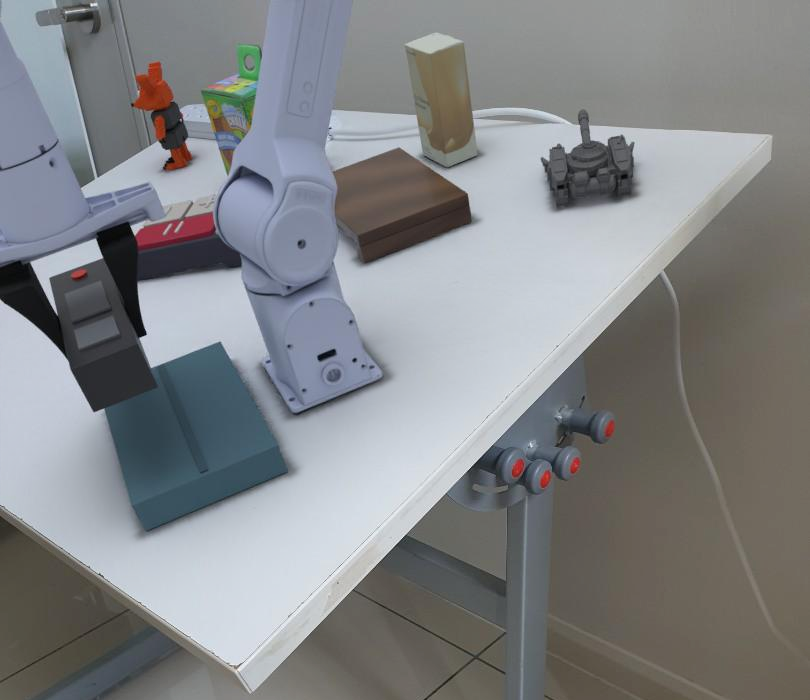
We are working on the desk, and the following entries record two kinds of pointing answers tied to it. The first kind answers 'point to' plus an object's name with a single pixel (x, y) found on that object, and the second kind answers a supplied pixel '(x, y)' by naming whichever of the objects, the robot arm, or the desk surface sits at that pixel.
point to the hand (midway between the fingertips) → (107, 343)
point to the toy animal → (163, 115)
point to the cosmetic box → (442, 98)
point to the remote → (100, 336)
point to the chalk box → (233, 103)
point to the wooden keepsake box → (396, 203)
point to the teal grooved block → (191, 438)
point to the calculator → (182, 241)
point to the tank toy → (590, 166)
